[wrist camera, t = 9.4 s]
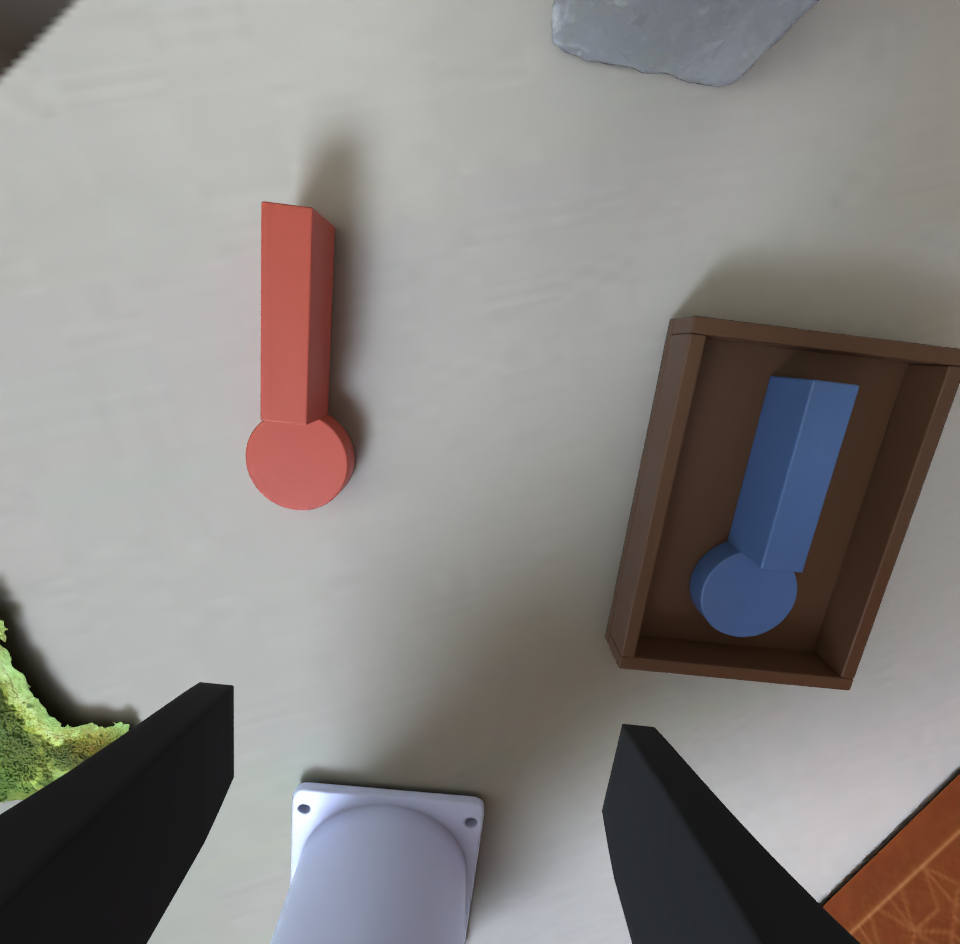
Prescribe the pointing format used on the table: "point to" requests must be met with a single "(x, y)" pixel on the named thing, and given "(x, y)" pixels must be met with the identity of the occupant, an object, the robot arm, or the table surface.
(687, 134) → the table surface
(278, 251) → the terracotta spoon
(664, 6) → the mineral specimen
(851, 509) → the tray
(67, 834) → the robot arm
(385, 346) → the table surface
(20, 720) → the moss
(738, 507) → the blue spoon
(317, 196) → the table surface
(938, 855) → the book
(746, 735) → the table surface
